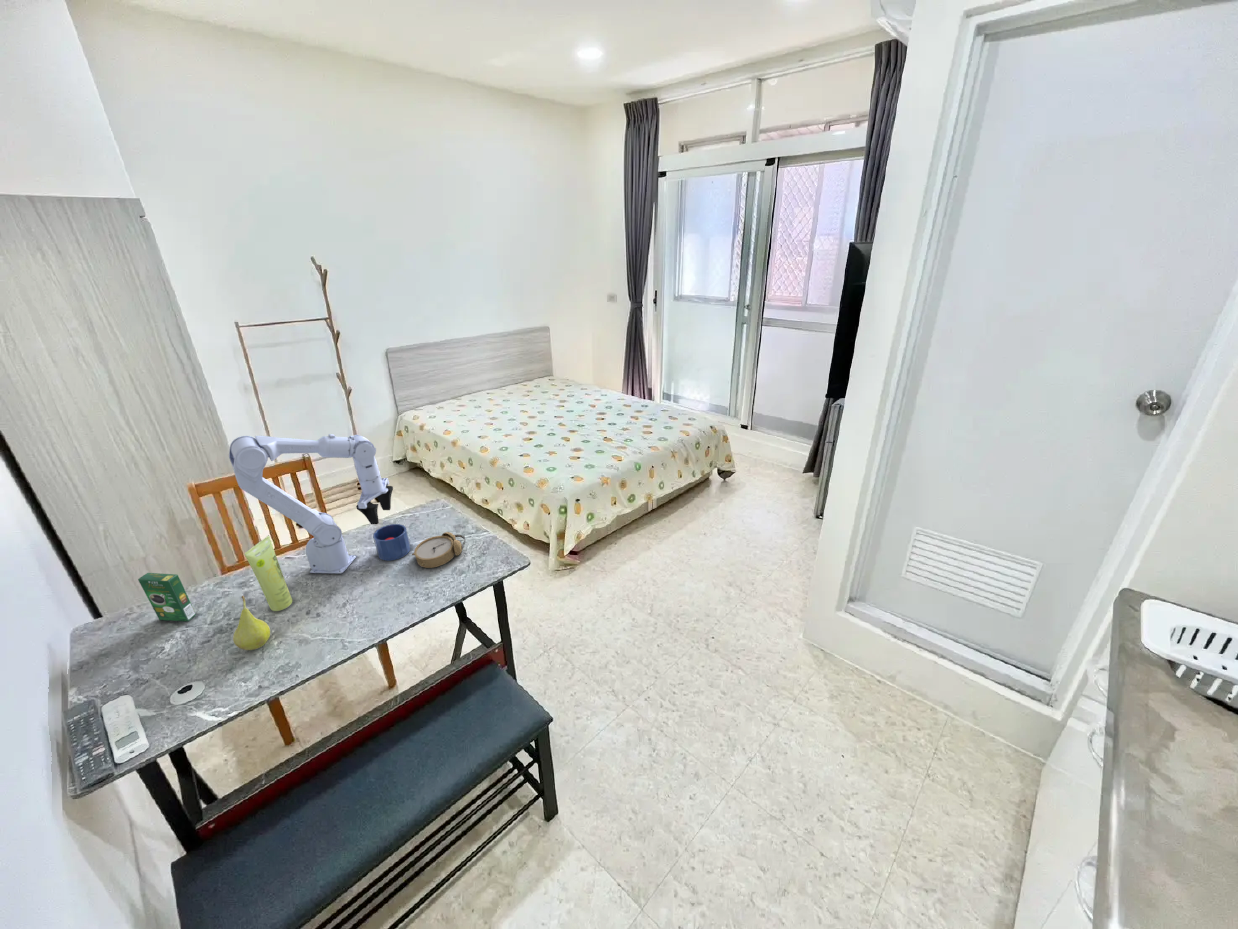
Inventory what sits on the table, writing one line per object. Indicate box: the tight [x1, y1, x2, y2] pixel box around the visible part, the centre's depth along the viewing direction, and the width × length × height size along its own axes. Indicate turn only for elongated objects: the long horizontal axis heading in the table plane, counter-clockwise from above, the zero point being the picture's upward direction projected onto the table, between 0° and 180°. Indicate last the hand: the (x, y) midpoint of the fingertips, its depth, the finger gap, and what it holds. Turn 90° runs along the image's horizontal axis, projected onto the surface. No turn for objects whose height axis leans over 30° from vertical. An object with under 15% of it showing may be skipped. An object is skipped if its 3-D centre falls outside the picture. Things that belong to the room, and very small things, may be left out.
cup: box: [372, 523, 411, 562], centre depth 145 cm, size 9×9×7 cm
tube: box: [244, 534, 293, 612], centre depth 121 cm, size 6×5×20 cm
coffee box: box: [137, 572, 197, 623], centre depth 119 cm, size 8×3×13 cm, turn 86°
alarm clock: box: [411, 531, 467, 569], centre depth 144 cm, size 11×5×15 cm
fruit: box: [232, 595, 271, 651], centre depth 111 cm, size 7×8×12 cm
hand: (380, 516), depth 145 cm, fingers open, 7 cm apart
